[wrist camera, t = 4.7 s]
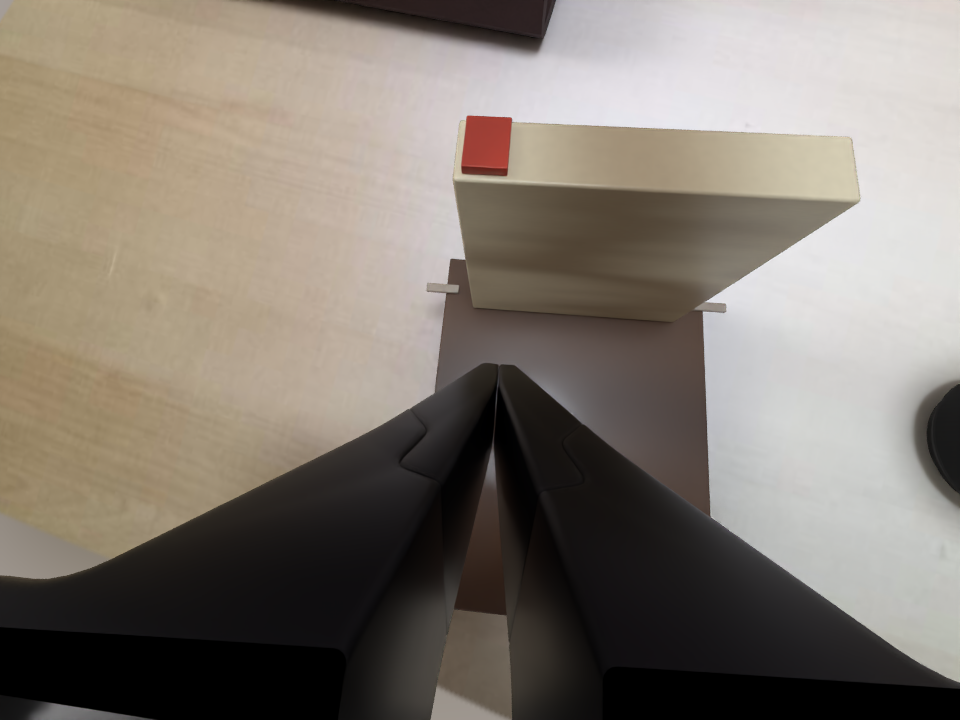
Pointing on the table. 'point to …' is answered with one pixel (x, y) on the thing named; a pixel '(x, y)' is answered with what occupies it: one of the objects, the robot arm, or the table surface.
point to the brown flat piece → (583, 399)
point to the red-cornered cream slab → (634, 212)
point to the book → (477, 12)
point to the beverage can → (946, 437)
